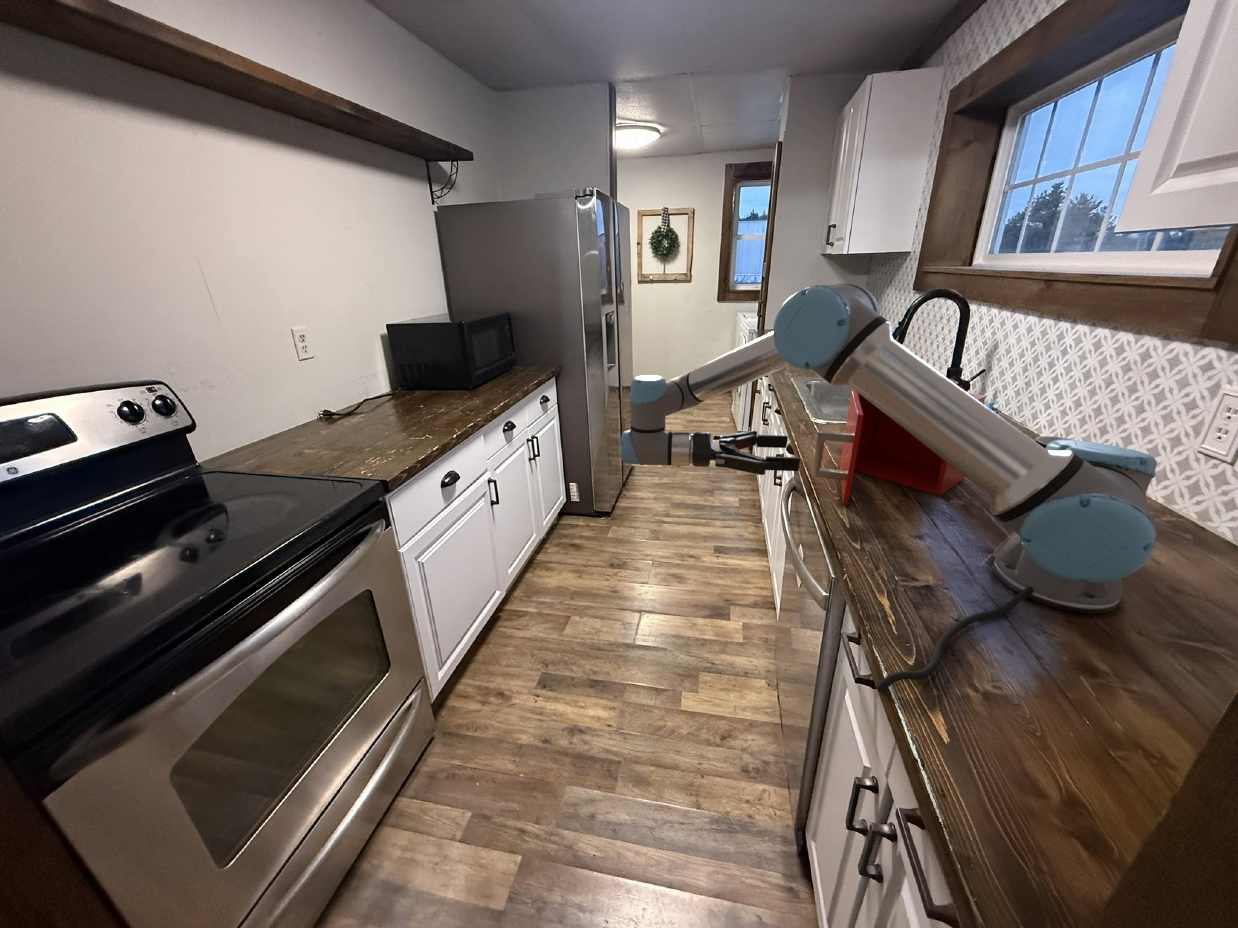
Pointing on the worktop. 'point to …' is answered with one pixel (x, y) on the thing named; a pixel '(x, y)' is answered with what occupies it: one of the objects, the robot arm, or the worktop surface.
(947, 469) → the cabinet
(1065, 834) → the worktop surface
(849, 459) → the door
